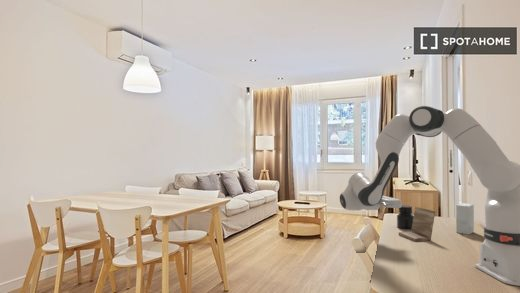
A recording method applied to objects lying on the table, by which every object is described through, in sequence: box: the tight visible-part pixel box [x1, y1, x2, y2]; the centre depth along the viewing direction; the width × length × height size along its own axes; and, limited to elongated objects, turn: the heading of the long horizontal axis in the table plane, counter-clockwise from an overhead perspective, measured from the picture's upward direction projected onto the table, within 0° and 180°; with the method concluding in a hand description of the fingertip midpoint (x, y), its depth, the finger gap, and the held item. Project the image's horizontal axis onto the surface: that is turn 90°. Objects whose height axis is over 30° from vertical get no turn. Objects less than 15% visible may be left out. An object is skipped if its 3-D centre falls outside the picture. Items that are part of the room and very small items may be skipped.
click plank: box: [410, 206, 436, 241], centre depth 153 cm, size 2×12×14 cm, turn 11°
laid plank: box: [398, 230, 429, 243], centre depth 151 cm, size 7×12×2 cm, turn 12°
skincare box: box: [455, 202, 475, 236], centre depth 161 cm, size 8×6×15 cm
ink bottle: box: [396, 204, 414, 230], centre depth 173 cm, size 10×9×12 cm
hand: (397, 200), depth 150 cm, fingers closed
